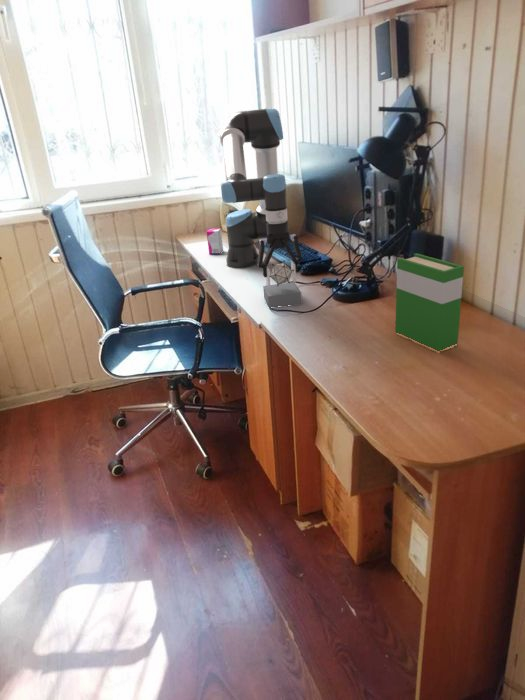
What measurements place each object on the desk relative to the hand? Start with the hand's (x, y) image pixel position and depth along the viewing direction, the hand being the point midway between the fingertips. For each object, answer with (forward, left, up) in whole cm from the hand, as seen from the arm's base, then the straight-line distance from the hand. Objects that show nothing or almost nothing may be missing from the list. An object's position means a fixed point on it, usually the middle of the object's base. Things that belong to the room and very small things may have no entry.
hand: (281, 283), depth 198 cm
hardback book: (+51, +29, -7) cm, 59 cm away
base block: (0, 0, -7) cm, 7 cm away
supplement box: (-79, -10, -7) cm, 80 cm away
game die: (0, 0, -1) cm, 1 cm away
